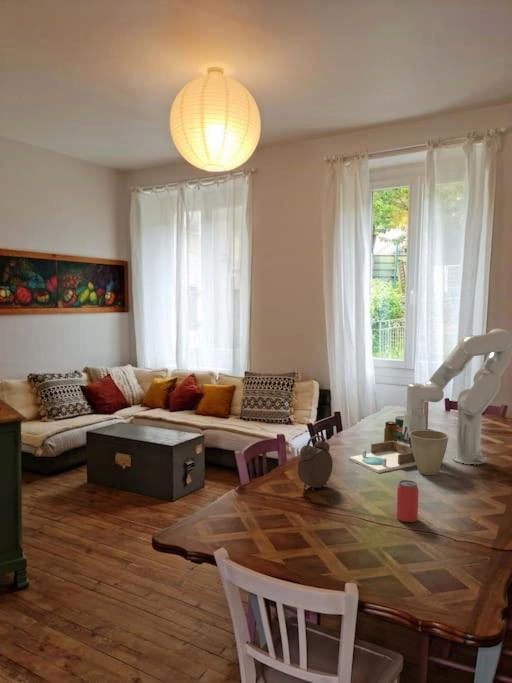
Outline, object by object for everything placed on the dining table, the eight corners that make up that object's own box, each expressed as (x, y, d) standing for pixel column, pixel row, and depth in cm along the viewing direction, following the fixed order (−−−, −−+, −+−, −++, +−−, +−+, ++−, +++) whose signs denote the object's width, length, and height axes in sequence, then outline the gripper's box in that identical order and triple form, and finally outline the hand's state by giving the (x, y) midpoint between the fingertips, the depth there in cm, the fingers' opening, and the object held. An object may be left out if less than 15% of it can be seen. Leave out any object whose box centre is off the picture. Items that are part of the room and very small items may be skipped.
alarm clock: (318, 480, 198) (319, 430, 196) (333, 485, 193) (334, 434, 191) (294, 490, 188) (294, 437, 186) (309, 495, 183) (309, 441, 181)
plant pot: (453, 471, 207) (454, 434, 206) (437, 481, 197) (439, 441, 195) (418, 463, 218) (419, 427, 216) (402, 472, 207) (403, 434, 205)
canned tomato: (409, 437, 258) (409, 416, 257) (412, 441, 251) (413, 420, 250) (393, 436, 259) (394, 415, 258) (396, 441, 251) (396, 419, 250)
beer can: (414, 525, 159) (415, 488, 158) (393, 520, 163) (394, 484, 162) (419, 517, 165) (421, 481, 164) (399, 512, 168) (400, 477, 167)
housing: (421, 460, 217) (422, 451, 217) (399, 464, 212) (399, 455, 211) (392, 448, 234) (392, 440, 233) (371, 452, 228) (371, 444, 228)
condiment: (393, 444, 246) (394, 420, 245) (402, 449, 238) (403, 424, 237) (379, 445, 244) (380, 421, 243) (388, 450, 236) (388, 425, 235)
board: (424, 463, 218) (425, 454, 217) (377, 473, 206) (378, 463, 206) (394, 451, 235) (394, 442, 234) (349, 459, 223) (349, 450, 223)
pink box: (405, 426, 280) (405, 399, 279) (415, 424, 284) (416, 398, 282) (419, 431, 270) (420, 403, 269) (430, 429, 273) (431, 402, 272)
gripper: (421, 407, 233) (420, 446, 234) (396, 411, 226) (395, 451, 227) (433, 411, 226) (432, 451, 228) (408, 414, 219) (407, 455, 221)
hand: (413, 451), depth 228 cm, fingers closed
